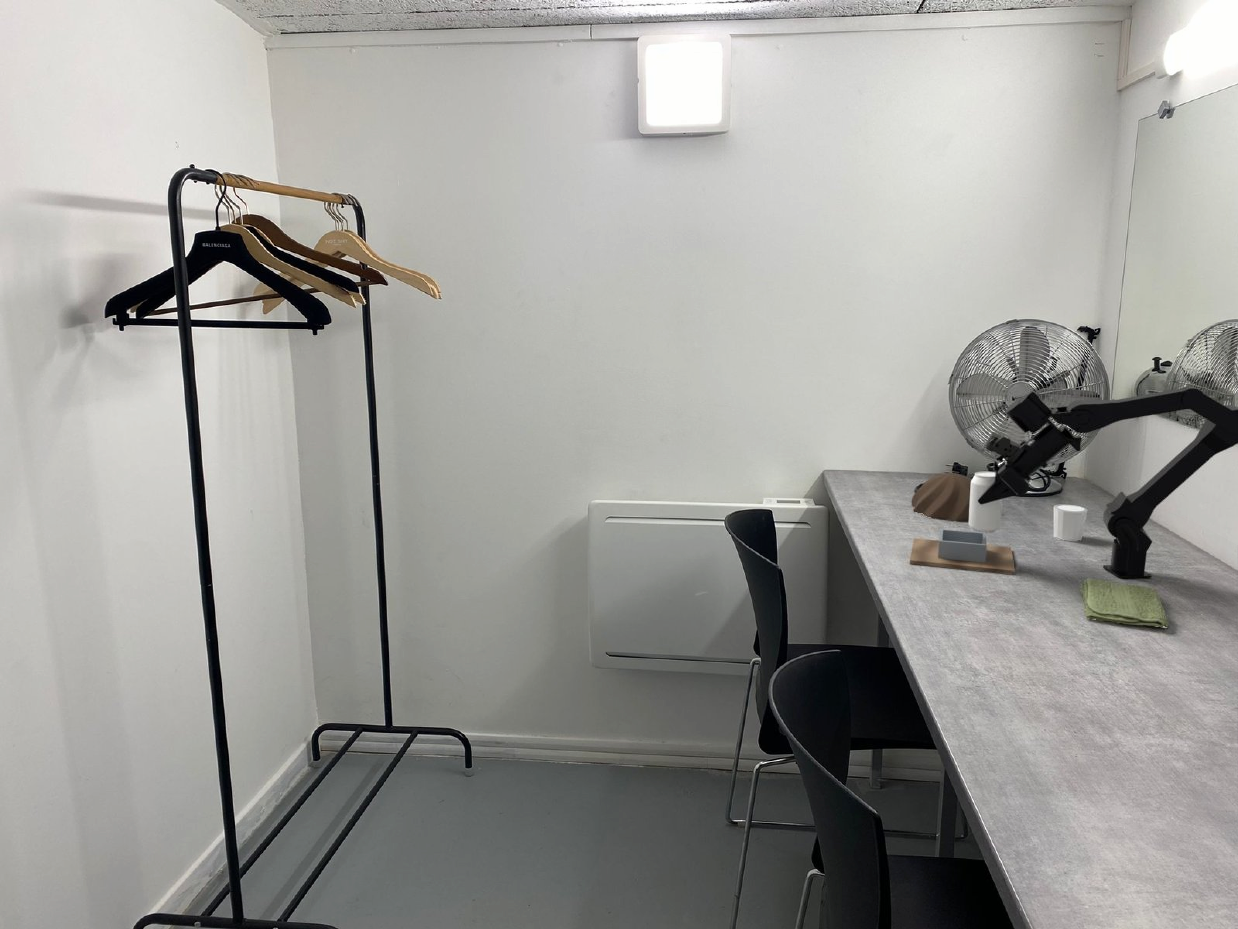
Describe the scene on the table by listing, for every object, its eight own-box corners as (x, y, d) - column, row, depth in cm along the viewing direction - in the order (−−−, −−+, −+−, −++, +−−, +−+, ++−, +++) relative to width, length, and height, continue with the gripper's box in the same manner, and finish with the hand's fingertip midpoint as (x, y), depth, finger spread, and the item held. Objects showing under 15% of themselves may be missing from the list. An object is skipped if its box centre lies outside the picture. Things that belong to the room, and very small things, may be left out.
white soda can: (992, 525, 189) (995, 470, 187) (1005, 533, 183) (1009, 476, 180) (963, 526, 189) (966, 471, 186) (975, 534, 183) (979, 477, 180)
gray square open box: (984, 553, 191) (985, 532, 190) (985, 566, 183) (986, 545, 182) (938, 548, 195) (940, 528, 194) (937, 561, 186) (939, 540, 185)
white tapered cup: (1077, 533, 204) (1080, 504, 203) (1089, 542, 198) (1093, 512, 196) (1046, 532, 205) (1049, 503, 204) (1057, 541, 198) (1060, 511, 197)
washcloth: (1083, 623, 155) (1085, 606, 154) (1078, 590, 170) (1080, 574, 170) (1170, 635, 149) (1173, 617, 149) (1157, 600, 165) (1159, 583, 164)
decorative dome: (910, 519, 218) (913, 479, 216) (911, 499, 236) (914, 462, 234) (995, 525, 212) (999, 484, 210) (990, 504, 230) (993, 467, 228)
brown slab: (1010, 550, 193) (1011, 547, 192) (1014, 574, 178) (1014, 570, 178) (913, 541, 200) (914, 538, 199) (909, 563, 185) (909, 560, 185)
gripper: (1009, 413, 188) (951, 461, 194) (1014, 428, 171) (950, 480, 177) (1048, 451, 187) (988, 498, 193) (1056, 470, 170) (990, 521, 176)
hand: (978, 498), depth 185 cm, fingers closed on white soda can, 6 cm apart
